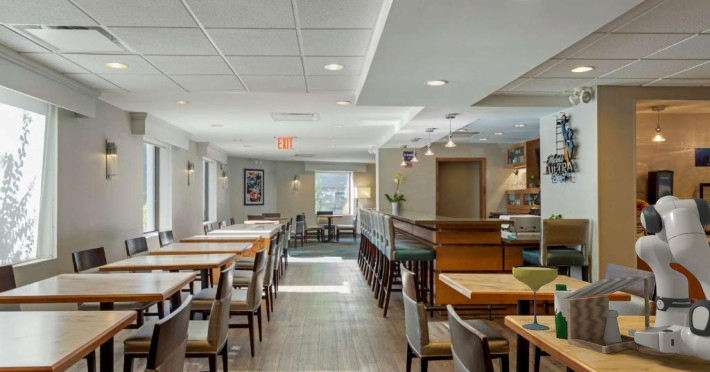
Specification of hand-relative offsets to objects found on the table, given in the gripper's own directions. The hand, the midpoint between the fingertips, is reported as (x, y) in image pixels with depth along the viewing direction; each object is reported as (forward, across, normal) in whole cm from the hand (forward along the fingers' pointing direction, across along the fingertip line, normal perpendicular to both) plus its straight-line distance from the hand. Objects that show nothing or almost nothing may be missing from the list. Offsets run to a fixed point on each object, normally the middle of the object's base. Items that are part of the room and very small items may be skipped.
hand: (638, 330), depth 175 cm
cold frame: (+12, 0, +8) cm, 14 cm away
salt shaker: (+10, 0, +8) cm, 12 cm away
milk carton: (+26, +3, +8) cm, 28 cm away
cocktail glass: (+44, +1, +8) cm, 45 cm away
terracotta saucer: (-2, -7, +8) cm, 10 cm away
